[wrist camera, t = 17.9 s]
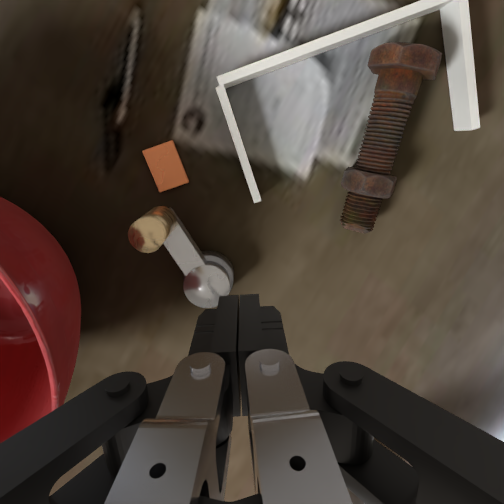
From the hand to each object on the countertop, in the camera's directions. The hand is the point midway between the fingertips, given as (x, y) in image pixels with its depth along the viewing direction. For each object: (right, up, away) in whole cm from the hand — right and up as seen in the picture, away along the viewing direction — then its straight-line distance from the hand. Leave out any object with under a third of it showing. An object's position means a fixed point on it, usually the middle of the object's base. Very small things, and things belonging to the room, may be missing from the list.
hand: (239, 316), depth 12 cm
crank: (-5, +2, +19) cm, 20 cm away
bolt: (+11, +13, +19) cm, 25 cm away
